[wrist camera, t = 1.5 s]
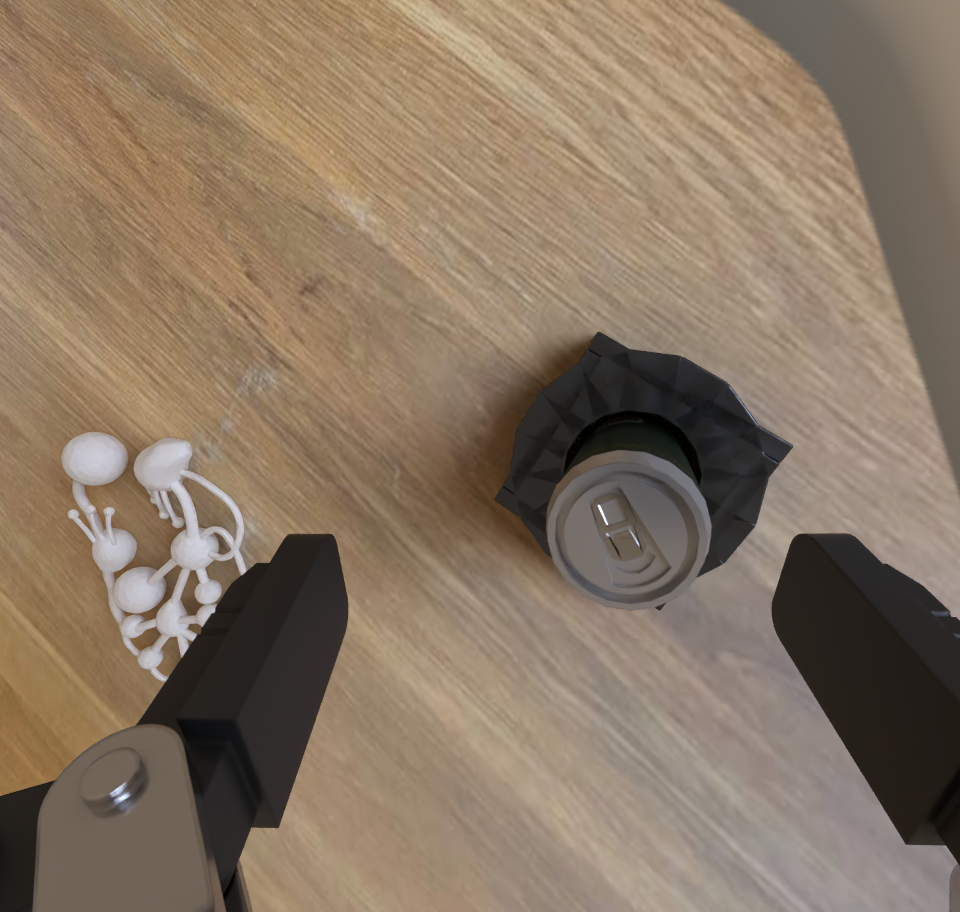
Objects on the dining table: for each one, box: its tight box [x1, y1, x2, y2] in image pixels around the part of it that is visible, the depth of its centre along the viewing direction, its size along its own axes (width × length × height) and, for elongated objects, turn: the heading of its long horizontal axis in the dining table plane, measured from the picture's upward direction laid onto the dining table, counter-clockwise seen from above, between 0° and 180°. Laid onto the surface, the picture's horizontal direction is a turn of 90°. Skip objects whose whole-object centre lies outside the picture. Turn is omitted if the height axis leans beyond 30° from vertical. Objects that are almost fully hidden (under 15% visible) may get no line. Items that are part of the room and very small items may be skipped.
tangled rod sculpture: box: [61, 432, 247, 682], centre depth 37 cm, size 19×14×4 cm
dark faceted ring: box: [495, 332, 793, 610], centre depth 26 cm, size 12×12×3 cm
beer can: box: [546, 415, 712, 611], centre depth 22 cm, size 5×5×12 cm
